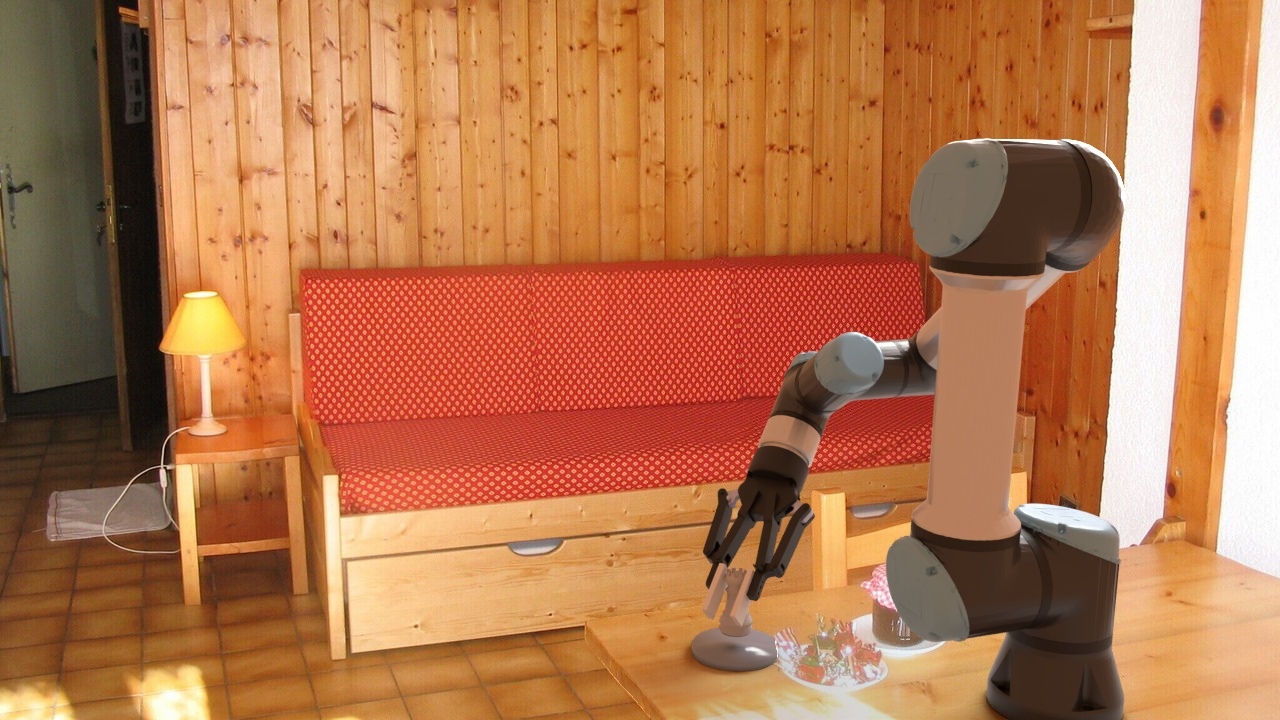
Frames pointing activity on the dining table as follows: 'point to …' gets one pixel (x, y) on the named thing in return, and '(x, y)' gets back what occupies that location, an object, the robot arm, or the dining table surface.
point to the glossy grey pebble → (734, 650)
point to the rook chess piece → (727, 623)
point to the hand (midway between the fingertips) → (721, 617)
